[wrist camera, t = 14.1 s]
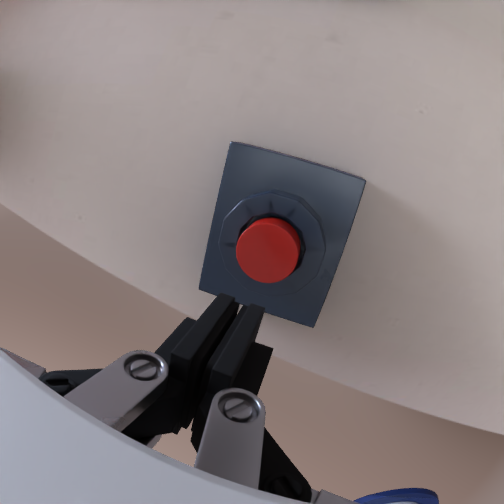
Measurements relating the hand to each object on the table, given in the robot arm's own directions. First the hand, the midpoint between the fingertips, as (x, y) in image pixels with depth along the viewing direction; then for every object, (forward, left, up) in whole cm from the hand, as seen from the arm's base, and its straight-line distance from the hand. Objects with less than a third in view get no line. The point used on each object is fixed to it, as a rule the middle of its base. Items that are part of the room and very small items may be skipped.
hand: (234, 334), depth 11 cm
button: (0, 0, -9) cm, 9 cm away
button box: (0, 0, -13) cm, 13 cm away
